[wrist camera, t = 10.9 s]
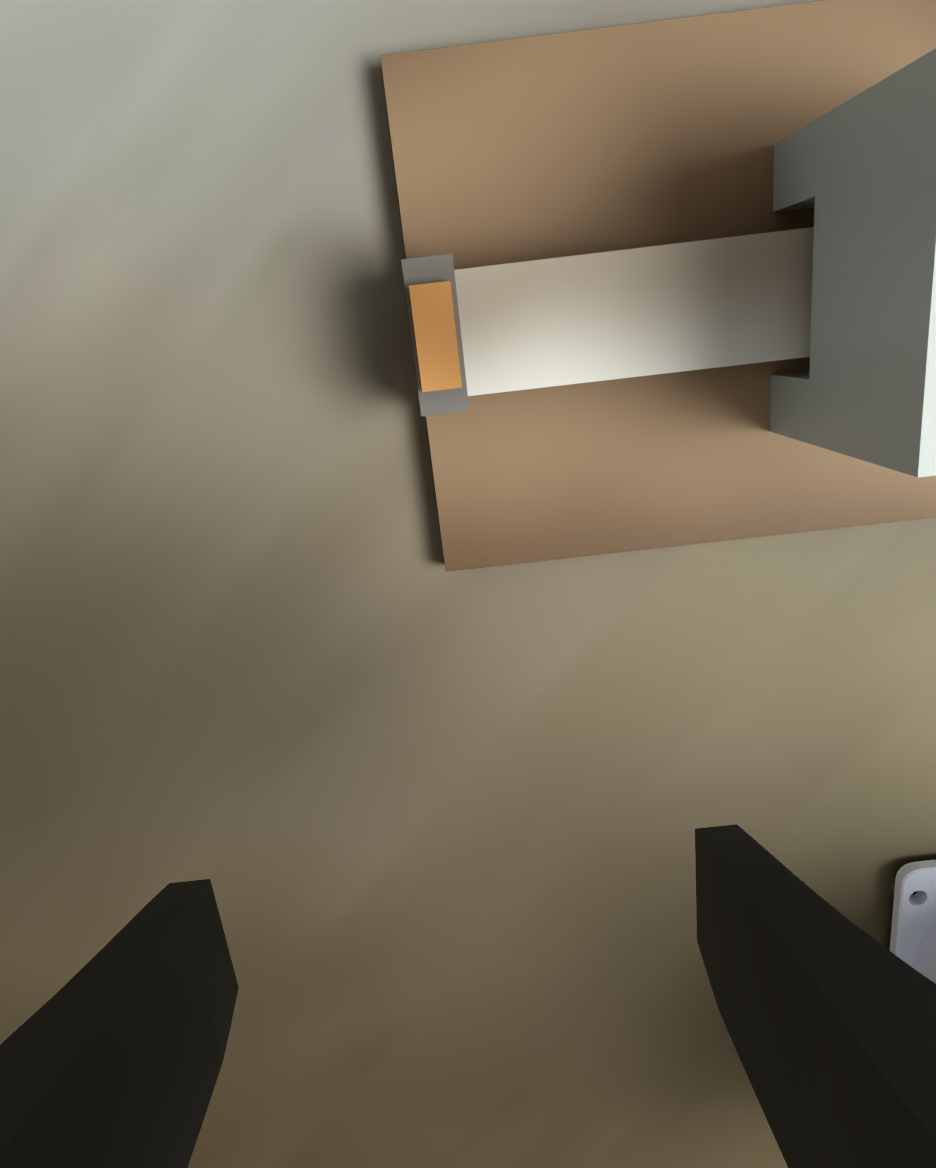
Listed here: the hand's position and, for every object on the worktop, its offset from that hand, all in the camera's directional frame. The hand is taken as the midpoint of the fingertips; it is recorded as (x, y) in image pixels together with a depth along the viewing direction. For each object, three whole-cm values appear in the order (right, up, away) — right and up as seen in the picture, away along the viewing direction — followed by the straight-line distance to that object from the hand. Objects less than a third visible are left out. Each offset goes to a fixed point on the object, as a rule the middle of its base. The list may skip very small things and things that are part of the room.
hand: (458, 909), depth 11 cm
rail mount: (+8, +11, +6) cm, 15 cm away
